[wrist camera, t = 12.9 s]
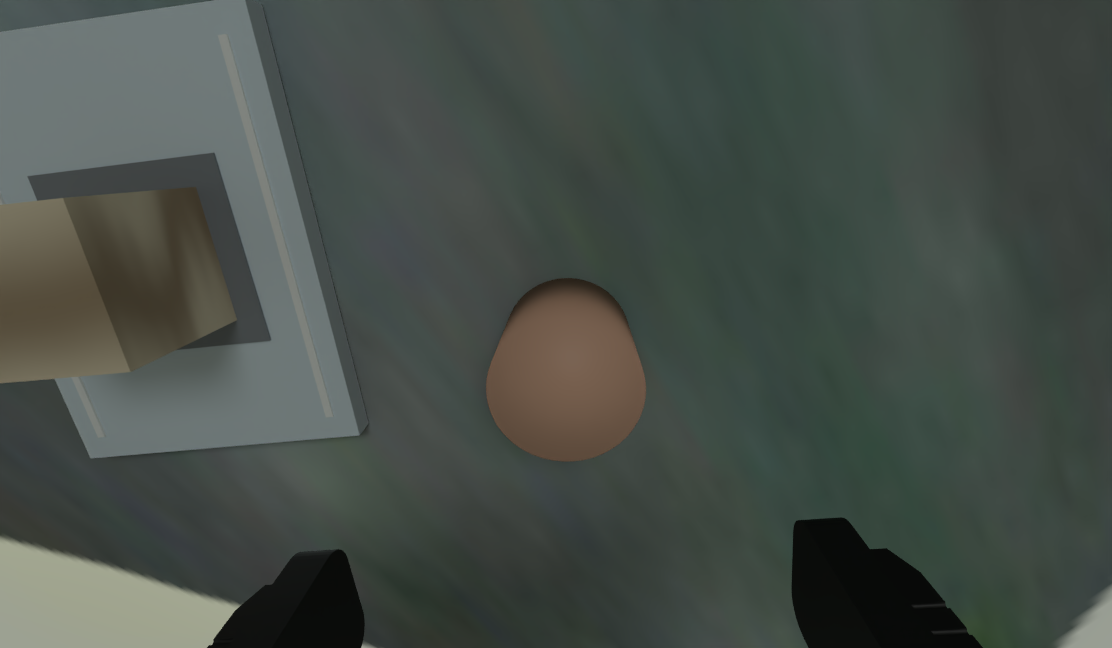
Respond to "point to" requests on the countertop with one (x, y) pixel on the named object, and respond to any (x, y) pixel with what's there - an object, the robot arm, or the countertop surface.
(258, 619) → the robot arm
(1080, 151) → the countertop surface
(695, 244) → the countertop surface
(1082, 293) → the countertop surface
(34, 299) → the birch cube
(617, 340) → the terracotta cylinder
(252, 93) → the base
